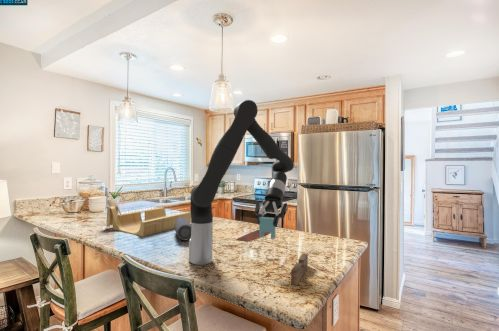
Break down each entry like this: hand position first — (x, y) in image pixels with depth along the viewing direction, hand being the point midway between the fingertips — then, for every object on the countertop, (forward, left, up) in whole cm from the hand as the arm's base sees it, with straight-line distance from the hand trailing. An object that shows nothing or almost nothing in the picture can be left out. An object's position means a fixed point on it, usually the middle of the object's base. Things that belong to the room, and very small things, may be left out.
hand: (266, 224), depth 106 cm
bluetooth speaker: (-60, +26, -19) cm, 68 cm away
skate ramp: (-96, +39, -19) cm, 105 cm away
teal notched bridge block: (0, +1, -6) cm, 6 cm away
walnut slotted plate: (+13, +1, -18) cm, 23 cm away
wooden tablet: (-24, +45, -19) cm, 55 cm away
